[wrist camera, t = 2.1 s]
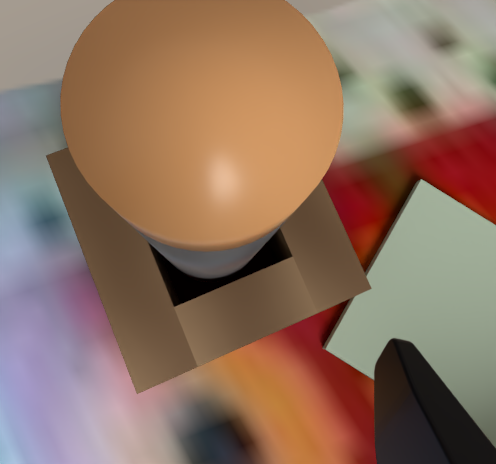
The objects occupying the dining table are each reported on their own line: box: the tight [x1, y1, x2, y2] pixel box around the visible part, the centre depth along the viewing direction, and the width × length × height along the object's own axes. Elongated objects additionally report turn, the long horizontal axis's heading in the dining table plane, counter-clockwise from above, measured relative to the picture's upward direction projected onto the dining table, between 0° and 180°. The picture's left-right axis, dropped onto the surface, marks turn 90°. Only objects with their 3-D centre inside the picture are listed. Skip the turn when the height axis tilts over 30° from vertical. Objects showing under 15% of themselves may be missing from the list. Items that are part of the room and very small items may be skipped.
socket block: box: [46, 148, 372, 394], centre depth 18 cm, size 9×9×4 cm
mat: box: [323, 179, 496, 448], centre depth 20 cm, size 9×9×1 cm
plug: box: [61, 0, 343, 283], centre depth 13 cm, size 4×4×14 cm
